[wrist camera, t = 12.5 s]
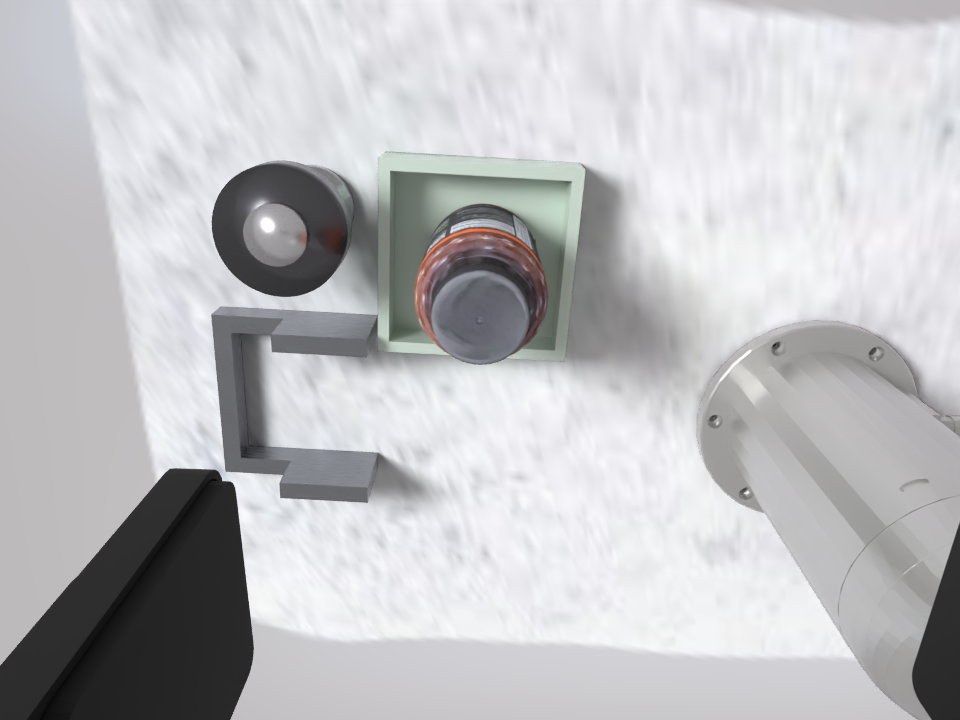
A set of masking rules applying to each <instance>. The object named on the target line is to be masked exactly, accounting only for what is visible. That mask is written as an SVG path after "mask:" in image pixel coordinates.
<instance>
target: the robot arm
mask: <svg viewBox="0 0 960 720" xmlns="http://www.w3.org/2000/svg"><path fill="white" fill-rule="evenodd" d="M776 342H777V345H776V346H774V347H772V346H773V344H775V343H776ZM871 349H872V350H871ZM870 350H871V351H870ZM713 415H715V416H714V417H713V418H710V417H711V416H713ZM697 441H698V447H699V452H700V455H701V457H702V459H703V461H704V464H705V466H706V468H707V470H708V471H709V473H710V475H711V476H712V478H713V480H714V481H715V483H716V484H717V485H718V486H719V487H720V488H721V489H722V490H723V491H724V492H725V493H726V494H727V495H728V496H729V497H731V498H732V499H734V500H735V501H736V502H738V503H740V504H741V505H744V506H746V507H748V508H751V509H753V510H755V511H758V512H762V513H765V514H766V516H767V517H768V519H769V520H770V522H771V524H772V525H773V527H774V528H775V530H776V532H777V533H778V535H779V536H780V538H781V540H782V541H783V543H784V544H785V546H786V548H787V549H788V551H789V552H790V554H791V556H792V557H793V559H794V560H795V562H796V564H797V565H798V567H799V568H800V570H801V572H802V573H803V575H804V576H805V578H806V580H807V581H808V583H809V584H810V586H811V588H812V589H813V591H814V592H815V594H816V596H817V597H818V599H819V600H820V602H821V604H822V605H823V607H824V608H825V610H826V612H827V613H828V615H829V616H830V618H831V620H832V621H833V623H834V624H835V626H836V628H837V629H838V631H839V632H840V634H841V636H842V637H843V639H844V640H845V642H846V644H847V645H848V647H849V648H850V649H851V651H852V653H853V654H854V656H855V657H856V659H857V660H858V662H859V664H860V665H861V667H862V668H863V669H864V671H865V672H866V673H867V675H868V676H869V677H870V679H871V680H872V681H873V682H874V683H875V685H876V686H877V687H878V688H879V689H880V690H881V691H882V692H883V693H884V694H885V695H886V696H887V697H888V698H889V699H890V700H891V701H893V702H894V703H895V704H897V705H898V706H900V707H901V708H902V709H903V710H905V711H906V712H908V713H909V714H910V715H912V716H913V717H915V718H916V719H918V720H960V416H949V415H947V416H940V415H939V414H937V413H936V412H935V411H933V410H932V409H931V408H929V407H928V406H927V405H926V404H924V403H923V402H922V401H920V400H919V399H918V396H917V389H916V386H915V382H914V379H913V376H912V373H911V372H910V370H909V368H908V367H907V365H906V363H905V362H904V360H903V358H902V357H901V356H900V355H899V354H898V353H897V352H896V351H895V350H894V349H893V348H892V347H891V346H890V345H889V344H887V343H886V342H884V341H883V340H881V339H880V338H878V337H877V336H876V335H874V334H872V333H870V332H868V331H866V330H864V329H862V328H859V327H857V326H854V325H850V324H846V323H842V322H838V321H820V320H815V321H807V322H799V323H793V324H790V325H786V326H783V327H780V328H776V329H773V330H771V331H769V332H767V333H765V334H763V335H761V336H759V337H757V338H755V339H753V340H752V341H750V342H749V343H748V344H746V345H745V346H743V347H742V348H741V349H739V350H738V351H736V352H735V353H734V354H733V355H732V356H731V357H730V358H729V359H728V360H727V361H726V362H725V363H724V364H723V365H722V366H721V368H720V369H719V370H718V372H717V373H716V375H715V376H714V377H713V379H712V380H711V382H710V383H709V385H708V387H707V390H706V392H705V394H704V396H703V398H702V400H701V404H700V408H699V412H698V417H697ZM253 650H254V647H253V635H252V627H251V618H250V610H249V601H248V593H247V584H246V575H245V567H244V558H243V550H242V541H241V532H240V524H239V515H238V507H237V498H236V491H235V487H234V485H233V483H232V482H228V481H222V478H221V476H220V473H219V472H218V471H216V470H206V469H177V468H174V469H169V470H168V471H167V472H166V473H165V474H164V475H163V476H162V477H161V479H160V480H159V481H158V482H157V483H156V484H155V486H154V487H153V488H152V489H151V490H150V492H149V493H148V494H147V495H146V496H145V497H144V499H143V500H142V501H141V502H140V503H139V505H138V506H137V507H136V508H135V509H134V510H133V512H132V513H131V514H130V515H129V516H128V518H127V519H126V520H125V521H124V522H123V524H122V525H121V526H120V527H119V528H118V529H117V531H116V532H115V533H114V534H113V535H112V536H111V538H110V539H109V540H108V541H107V542H106V543H105V545H104V546H103V547H102V548H101V549H100V551H99V552H98V553H97V554H96V555H95V557H94V558H93V559H92V560H91V561H90V562H89V564H88V565H87V566H86V567H85V568H84V570H83V571H82V572H81V573H80V574H79V576H77V578H75V579H74V580H73V581H72V582H71V583H70V584H69V585H68V587H67V588H66V589H65V590H64V591H63V593H62V594H61V595H60V596H59V597H58V598H57V600H56V601H55V602H54V603H53V605H51V607H50V608H49V609H48V610H47V611H46V613H45V614H44V615H43V616H42V617H41V619H40V620H39V621H38V622H37V623H36V624H35V626H34V627H33V628H32V629H31V630H30V631H29V633H28V634H27V635H26V636H25V637H24V638H23V640H22V641H21V642H20V643H19V644H18V645H17V647H16V648H15V649H14V650H13V651H12V653H11V654H10V655H9V656H8V657H7V658H6V660H5V661H4V662H3V663H2V664H1V665H0V720H230V719H231V717H232V714H233V712H234V709H235V707H236V705H237V702H238V700H239V697H240V695H241V692H242V690H243V688H244V685H245V683H246V681H247V678H248V676H249V673H250V670H251V665H252V660H253Z"/></svg>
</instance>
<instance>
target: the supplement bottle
mask: <svg viewBox="0 0 960 720" xmlns="http://www.w3.org/2000/svg"><path fill="white" fill-rule="evenodd" d="M414 303H415V309H416V313H417V317H418V320H419V323H420V324H421V326H422V328H423V330H424V332H425V333H426V334H427V336H428V337H429V338H430V339H431V340H432V341H433V342H434V343H435V344H436V345H437V346H438V347H439V348H440V349H442V350H443V351H444V352H446V353H448V354H450V355H451V356H453V357H455V358H456V359H458V360H461V361H463V362H466V363H471V364H478V365H482V364H491V363H495V362H498V361H501V360H503V359H505V358H507V357H508V356H510V355H513V354H515V353H516V352H518V351H519V350H521V349H522V348H523V347H525V346H526V345H527V344H528V343H529V342H531V340H532V339H533V338H534V336H535V335H536V334H537V332H538V331H539V329H540V327H541V326H542V324H543V321H544V318H545V315H546V311H547V307H548V289H547V283H546V279H545V273H544V269H543V268H542V264H541V260H540V258H539V254H538V250H537V247H536V239H535V241H534V238H533V235H532V234H531V232H530V231H529V229H528V228H527V226H526V225H525V224H524V223H523V221H522V220H521V219H520V218H519V217H518V216H516V215H515V214H513V213H512V212H511V211H509V210H507V209H505V208H503V207H500V206H497V205H492V204H472V205H468V206H465V207H462V208H459V209H457V210H456V211H454V212H452V213H451V214H449V215H448V216H447V217H446V218H445V219H444V220H443V221H442V222H441V223H440V224H439V225H438V227H437V228H436V229H435V231H434V233H433V234H432V236H431V238H430V241H429V244H428V246H427V249H426V251H425V254H424V257H423V260H422V262H421V265H420V268H419V271H418V274H417V277H416V281H415V288H414Z"/></svg>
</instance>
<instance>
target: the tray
mask: <svg viewBox="0 0 960 720" xmlns="http://www.w3.org/2000/svg"><path fill="white" fill-rule="evenodd" d="M585 170H586V169H585V168H584V167H583V166H582V165H581V164H580V163H574V162H557V161H539V160H522V159H505V158H488V157H470V156H453V155H436V154H419V153H401V152H385V153H383V154H382V155H381V156H379V157H378V351H383V352H401V353H419V354H437V355H450V354H448V353H446V352H444V351H443V350H442V349H440V348H439V347H438V346H437V345H436V344H435V343H434V342H433V341H432V340H431V339H430V338H429V337H428V336H427V334H426V333H425V332H424V330H423V328H422V326H421V324H420V323H419V320H418V317H417V313H416V309H415V303H414V288H415V281H416V277H417V274H418V271H419V268H420V265H421V262H422V260H423V257H424V254H425V251H426V249H427V246H428V244H429V241H430V238H431V236H432V234H433V233H434V231H435V229H436V228H437V227H438V225H439V224H440V223H441V222H442V221H443V220H444V219H445V218H446V217H447V216H448V215H449V214H451V213H452V212H454V211H456V210H457V209H459V208H462V207H465V206H468V205H472V204H492V205H497V206H500V207H503V208H505V209H507V210H509V211H511V212H512V213H513V214H515V215H516V216H518V217H519V218H520V219H521V220H522V221H523V223H524V224H525V225H526V226H527V228H528V229H529V231H530V232H531V234H532V235H533V238H534V241H535V239H536V247H537V250H538V254H539V258H540V260H541V264H542V268H543V269H544V273H545V279H546V283H547V289H548V307H547V311H546V315H545V318H544V321H543V324H542V326H541V327H540V329H539V331H538V332H537V334H536V335H535V336H534V338H533V339H532V340H531V342H529V343H528V344H527V345H526V346H525V347H523V348H522V349H521V350H519V351H518V352H516V353H515V354H513V355H510V356H508V357H507V358H509V359H527V360H545V361H563V362H565V357H566V348H567V338H568V329H569V320H570V310H571V301H572V292H573V282H574V273H575V264H576V254H577V245H578V236H579V226H580V217H581V208H582V198H583V189H584V180H585Z"/></svg>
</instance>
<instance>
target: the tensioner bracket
mask: <svg viewBox="0 0 960 720" xmlns="http://www.w3.org/2000/svg"><path fill="white" fill-rule="evenodd" d="M211 316H212V327H213V338H214V349H215V360H216V371H217V382H218V393H219V404H220V415H221V426H222V437H223V448H224V459H225V470H226V472H244V473H263V474H281V475H283V477H282V479H281V481H280V498H292V499H311V500H329V501H348V502H366V503H368V499H369V496H370V492H371V489H372V485H373V482H374V478H375V475H376V471H377V468H378V453H371V452H353V451H334V450H316V449H298V448H279V447H261V446H249V441H248V428H247V415H246V402H245V388H244V375H243V362H242V349H241V335H240V333H245V334H263V335H271V345H272V352H282V353H300V354H318V355H336V356H354V357H367V356H368V353H369V351H370V349H371V347H372V344H373V342H374V340H375V337H376V335H377V333H378V315H363V314H346V313H328V312H310V311H292V310H274V309H256V308H239V307H220V308H219V309H217V310H216V311H215V312H214V313H213V314H212V315H211Z"/></svg>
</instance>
